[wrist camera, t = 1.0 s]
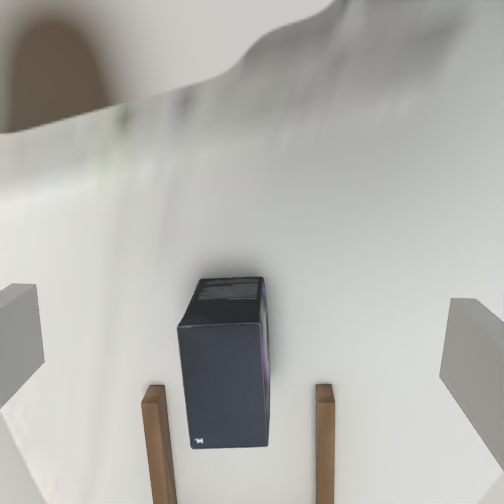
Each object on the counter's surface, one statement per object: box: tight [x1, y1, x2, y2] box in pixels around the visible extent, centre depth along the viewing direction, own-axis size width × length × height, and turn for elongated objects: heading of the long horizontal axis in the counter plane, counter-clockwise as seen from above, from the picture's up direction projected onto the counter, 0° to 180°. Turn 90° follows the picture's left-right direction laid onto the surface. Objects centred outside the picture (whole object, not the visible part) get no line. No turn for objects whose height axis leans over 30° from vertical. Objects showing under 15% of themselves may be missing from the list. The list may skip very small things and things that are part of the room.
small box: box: [177, 277, 270, 449], centre depth 39 cm, size 11×6×10 cm, turn 4°
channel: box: [141, 385, 335, 504], centre depth 45 cm, size 18×18×5 cm
